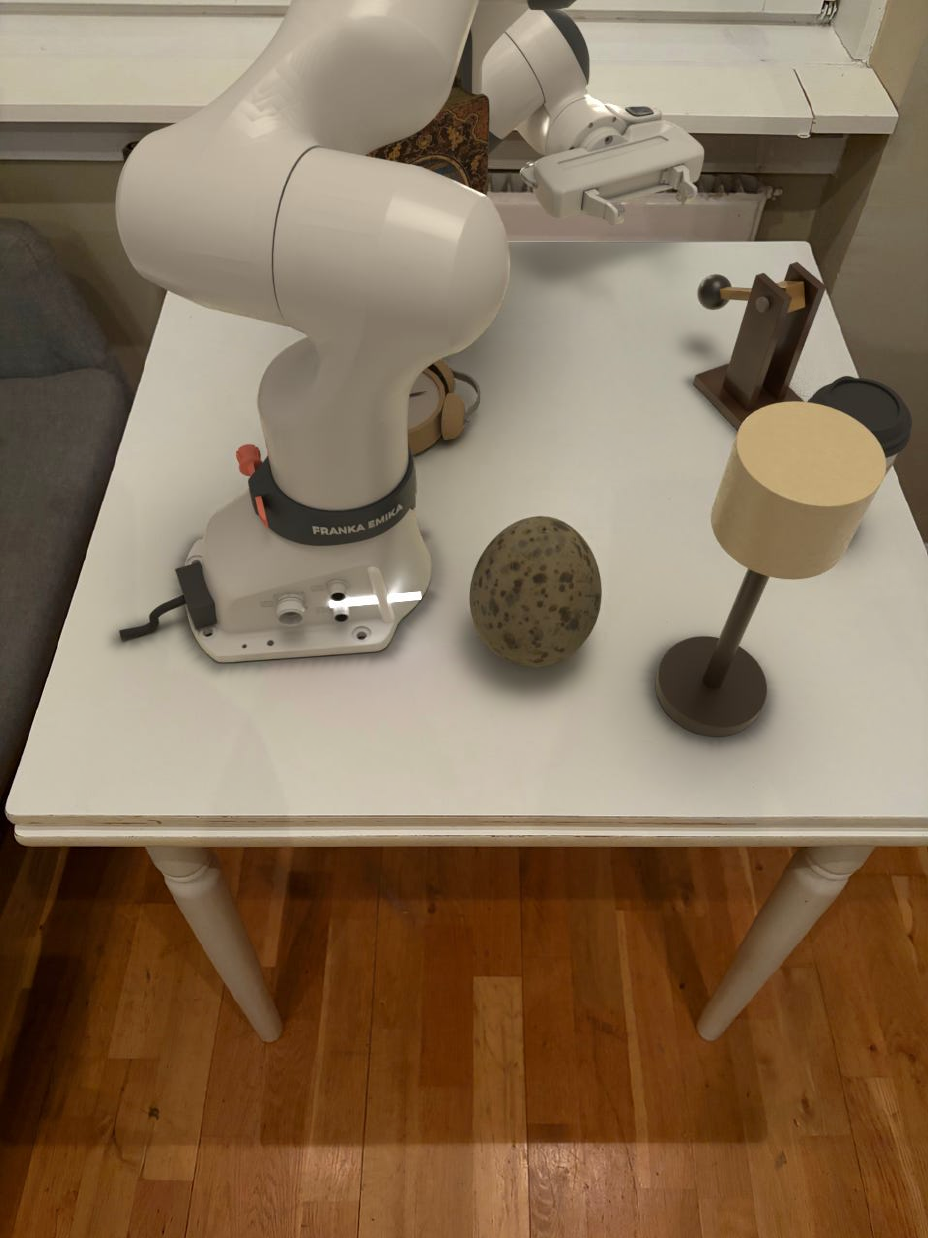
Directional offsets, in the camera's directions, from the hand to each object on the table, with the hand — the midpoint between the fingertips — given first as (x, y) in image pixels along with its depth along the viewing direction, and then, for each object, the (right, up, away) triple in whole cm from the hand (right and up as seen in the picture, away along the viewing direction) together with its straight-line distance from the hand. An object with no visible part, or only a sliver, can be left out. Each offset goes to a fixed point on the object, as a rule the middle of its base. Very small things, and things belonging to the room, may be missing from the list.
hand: (655, 207), depth 104 cm
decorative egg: (-15, -47, -21) cm, 54 cm away
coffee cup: (+13, -36, -12) cm, 40 cm away
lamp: (0, -51, -24) cm, 56 cm away
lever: (+8, -14, -7) cm, 18 cm away
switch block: (+10, -22, -2) cm, 24 cm away
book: (-27, -12, +4) cm, 30 cm away
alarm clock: (-27, -25, -5) cm, 37 cm away
